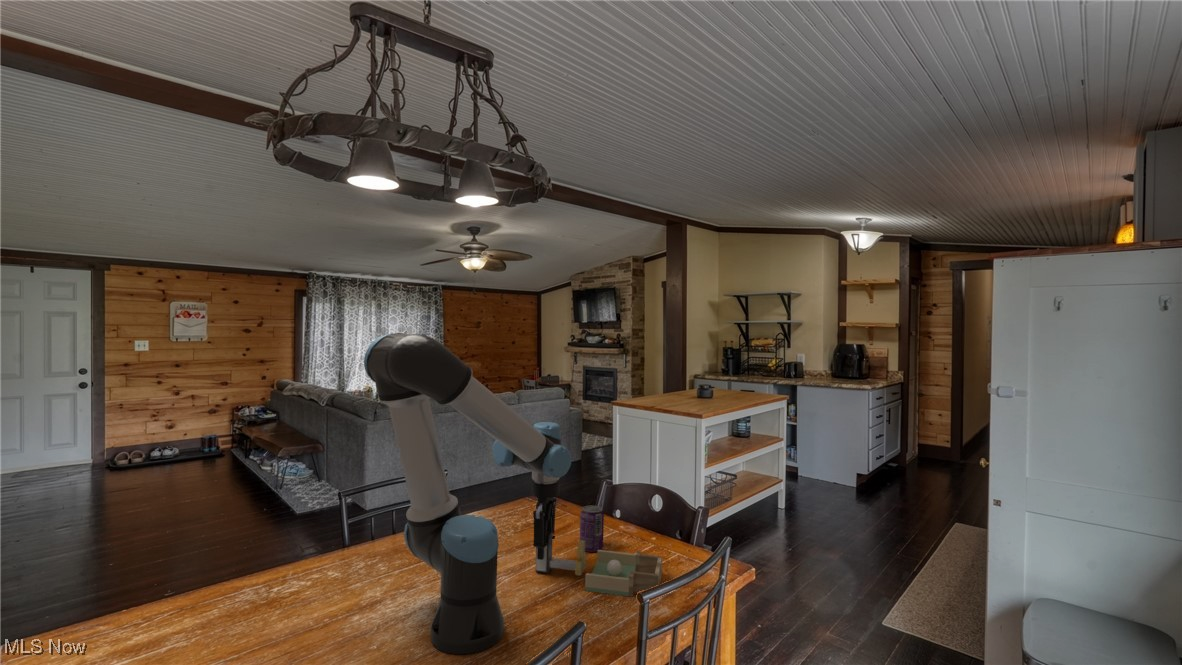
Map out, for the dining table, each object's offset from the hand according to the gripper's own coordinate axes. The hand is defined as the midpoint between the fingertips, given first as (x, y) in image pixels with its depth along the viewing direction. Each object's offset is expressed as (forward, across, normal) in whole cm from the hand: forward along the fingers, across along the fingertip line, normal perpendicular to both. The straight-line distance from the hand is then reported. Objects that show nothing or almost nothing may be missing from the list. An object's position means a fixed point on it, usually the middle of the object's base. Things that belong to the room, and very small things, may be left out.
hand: (543, 566), depth 144 cm
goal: (+1, 0, -28) cm, 28 cm away
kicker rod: (+1, 0, -5) cm, 5 cm away
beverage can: (+1, +18, -9) cm, 20 cm away
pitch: (+1, 0, -19) cm, 19 cm away
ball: (-2, 0, -19) cm, 19 cm away
